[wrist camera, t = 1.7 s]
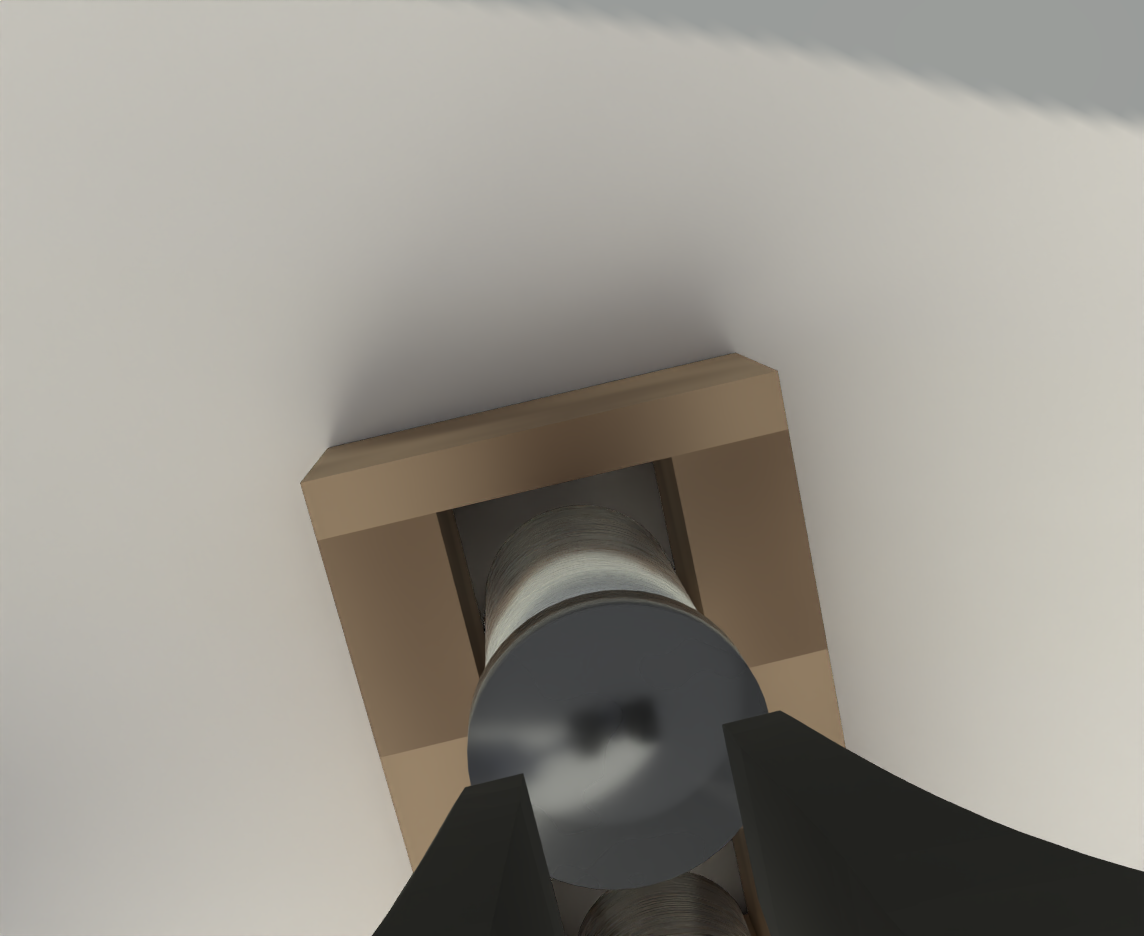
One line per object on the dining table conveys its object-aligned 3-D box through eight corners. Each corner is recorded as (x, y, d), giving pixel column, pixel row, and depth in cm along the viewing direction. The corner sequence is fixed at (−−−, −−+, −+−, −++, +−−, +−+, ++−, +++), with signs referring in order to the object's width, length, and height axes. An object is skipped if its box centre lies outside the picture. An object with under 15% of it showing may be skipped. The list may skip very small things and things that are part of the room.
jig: (559, 1272, 24) (569, 1412, 21) (328, 447, 20) (299, 482, 17) (892, 1186, 25) (947, 1313, 22) (735, 352, 20) (777, 371, 17)
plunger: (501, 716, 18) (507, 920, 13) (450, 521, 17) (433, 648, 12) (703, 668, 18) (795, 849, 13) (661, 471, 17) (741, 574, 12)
